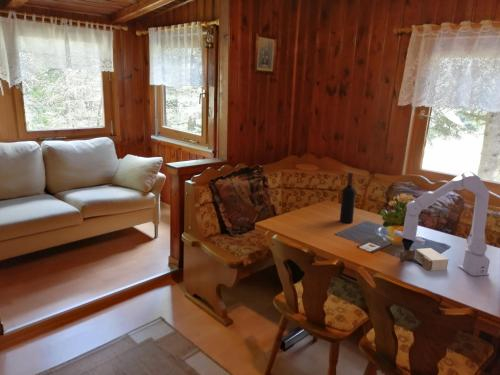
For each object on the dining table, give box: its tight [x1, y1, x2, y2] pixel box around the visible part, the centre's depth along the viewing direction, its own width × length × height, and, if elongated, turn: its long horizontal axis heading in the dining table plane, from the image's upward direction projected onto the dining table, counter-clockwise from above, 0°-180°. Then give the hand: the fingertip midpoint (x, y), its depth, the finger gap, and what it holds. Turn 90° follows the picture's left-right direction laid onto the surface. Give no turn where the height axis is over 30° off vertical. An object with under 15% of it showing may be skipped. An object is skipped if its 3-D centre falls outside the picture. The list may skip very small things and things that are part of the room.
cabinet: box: [413, 247, 449, 271], centre depth 169 cm, size 12×10×5 cm
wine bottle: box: [339, 172, 356, 225], centre depth 219 cm, size 8×8×30 cm
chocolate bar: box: [356, 237, 393, 254], centre depth 189 cm, size 9×1×18 cm
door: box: [399, 248, 416, 262], centre depth 173 cm, size 8×1×5 cm, turn 107°
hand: (406, 253), depth 174 cm, fingers closed, pressing on door
